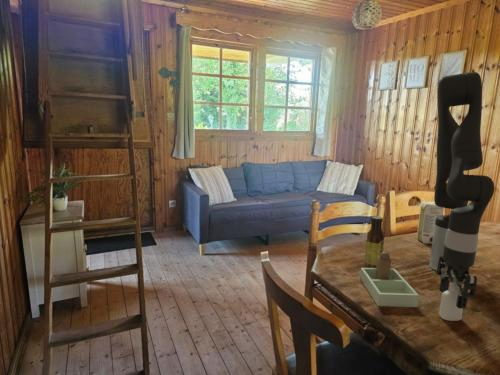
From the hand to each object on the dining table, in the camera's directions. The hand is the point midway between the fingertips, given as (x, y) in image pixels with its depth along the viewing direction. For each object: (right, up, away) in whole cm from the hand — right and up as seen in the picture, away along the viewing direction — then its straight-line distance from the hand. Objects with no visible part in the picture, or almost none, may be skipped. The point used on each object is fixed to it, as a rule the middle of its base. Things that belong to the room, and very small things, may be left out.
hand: (451, 299), depth 93 cm
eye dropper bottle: (0, -6, +1) cm, 6 cm away
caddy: (-12, -3, +15) cm, 20 cm away
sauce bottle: (-10, +1, +34) cm, 35 cm away
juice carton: (+27, +6, +62) cm, 68 cm away
